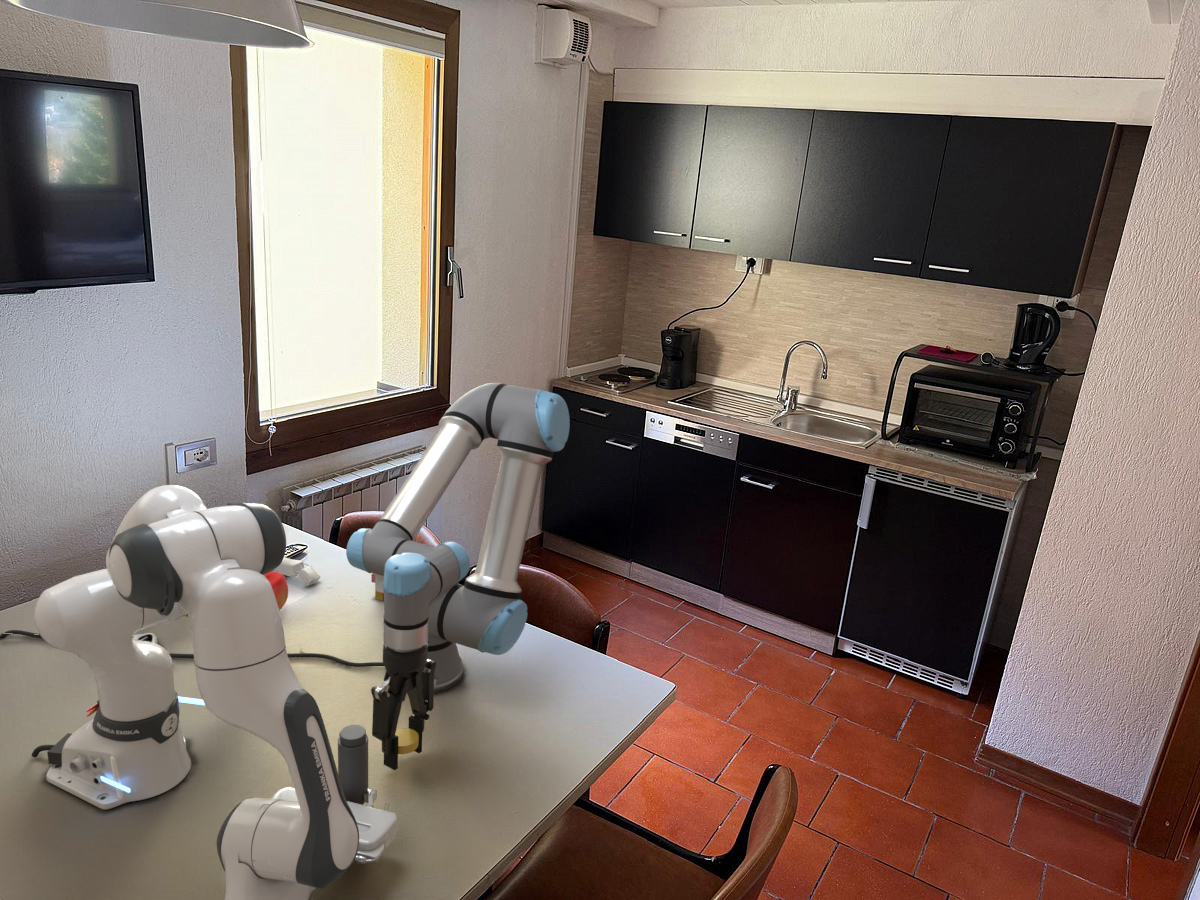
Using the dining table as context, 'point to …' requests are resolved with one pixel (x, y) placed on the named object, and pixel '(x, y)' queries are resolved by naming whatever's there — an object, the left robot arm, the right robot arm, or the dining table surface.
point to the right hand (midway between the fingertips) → (403, 757)
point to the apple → (278, 587)
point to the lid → (407, 740)
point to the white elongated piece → (298, 571)
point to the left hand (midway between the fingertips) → (356, 788)
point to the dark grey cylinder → (353, 762)
